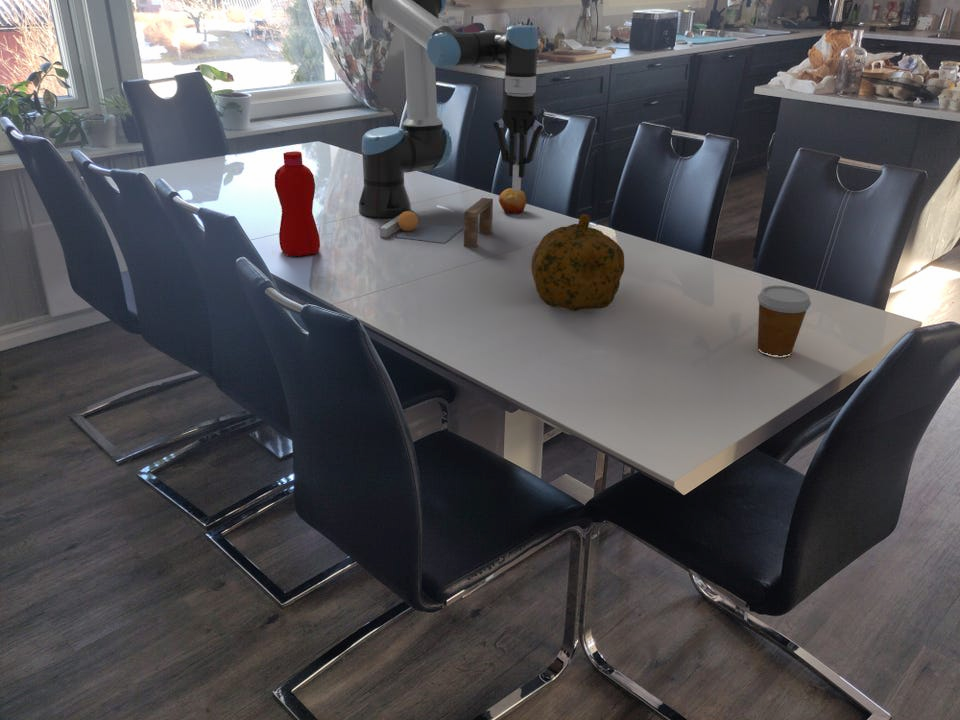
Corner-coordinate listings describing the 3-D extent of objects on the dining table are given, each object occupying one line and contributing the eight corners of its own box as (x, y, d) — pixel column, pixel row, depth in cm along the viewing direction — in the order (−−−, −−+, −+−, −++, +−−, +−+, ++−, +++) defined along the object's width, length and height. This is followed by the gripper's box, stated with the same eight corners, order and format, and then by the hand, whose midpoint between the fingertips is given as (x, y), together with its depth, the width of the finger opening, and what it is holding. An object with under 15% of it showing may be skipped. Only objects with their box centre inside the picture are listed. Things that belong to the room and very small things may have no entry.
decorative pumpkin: (505, 294, 183) (517, 205, 175) (575, 283, 195) (589, 199, 187) (565, 328, 169) (581, 233, 160) (636, 314, 181) (655, 225, 172)
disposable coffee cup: (741, 341, 165) (751, 284, 159) (787, 340, 165) (798, 284, 160) (759, 362, 156) (770, 303, 151) (808, 361, 157) (821, 302, 152)
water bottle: (311, 242, 216) (304, 145, 205) (323, 255, 207) (316, 154, 196) (276, 246, 212) (267, 148, 201) (286, 259, 204) (277, 157, 193)
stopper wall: (380, 236, 221) (379, 227, 220) (403, 220, 235) (403, 212, 234) (386, 237, 221) (386, 228, 220) (410, 221, 234) (410, 212, 233)
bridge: (464, 246, 215) (464, 211, 211) (481, 230, 228) (482, 197, 224) (474, 247, 215) (475, 212, 211) (492, 231, 227) (492, 198, 223)
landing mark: (395, 237, 221) (395, 236, 221) (415, 223, 233) (415, 222, 233) (444, 243, 217) (444, 242, 217) (462, 228, 229) (462, 228, 229)
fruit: (526, 202, 249) (527, 183, 243) (525, 222, 245) (525, 203, 238) (500, 201, 250) (499, 182, 243) (498, 220, 246) (497, 201, 239)
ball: (394, 232, 225) (395, 212, 222) (402, 226, 229) (403, 207, 227) (413, 235, 223) (414, 216, 221) (420, 230, 228) (421, 210, 226)
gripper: (489, 94, 200) (487, 190, 211) (542, 97, 197) (537, 195, 207) (499, 89, 207) (496, 183, 217) (549, 93, 203) (544, 188, 214)
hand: (516, 189), depth 212 cm, fingers closed
